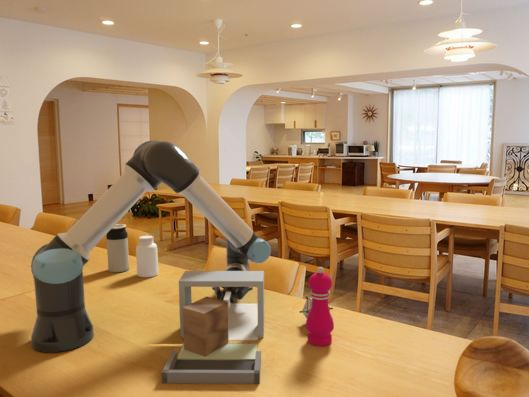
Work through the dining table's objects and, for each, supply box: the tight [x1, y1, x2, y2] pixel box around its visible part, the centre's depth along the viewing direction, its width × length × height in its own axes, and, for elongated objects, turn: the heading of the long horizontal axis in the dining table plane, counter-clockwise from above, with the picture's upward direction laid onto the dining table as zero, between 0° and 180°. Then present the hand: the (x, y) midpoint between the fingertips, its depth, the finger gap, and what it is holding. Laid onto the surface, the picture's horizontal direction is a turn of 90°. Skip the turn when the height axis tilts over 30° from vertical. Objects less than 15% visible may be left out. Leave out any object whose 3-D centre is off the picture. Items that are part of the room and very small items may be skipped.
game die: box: [299, 295, 334, 319], centre depth 133 cm, size 9×8×10 cm
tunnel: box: [178, 270, 265, 341], centre depth 133 cm, size 26×22×16 cm
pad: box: [177, 343, 258, 360], centre depth 118 cm, size 12×19×1 cm, turn 89°
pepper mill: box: [305, 266, 335, 347], centre depth 121 cm, size 7×7×20 cm
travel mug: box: [105, 223, 130, 274], centre depth 185 cm, size 8×8×18 cm
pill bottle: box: [135, 235, 159, 279], centre depth 178 cm, size 8×8×15 cm
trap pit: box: [161, 350, 262, 385], centre depth 107 cm, size 10×21×2 cm, turn 89°
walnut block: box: [183, 296, 229, 357], centre depth 118 cm, size 9×7×11 cm
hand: (226, 304), depth 128 cm, fingers closed
